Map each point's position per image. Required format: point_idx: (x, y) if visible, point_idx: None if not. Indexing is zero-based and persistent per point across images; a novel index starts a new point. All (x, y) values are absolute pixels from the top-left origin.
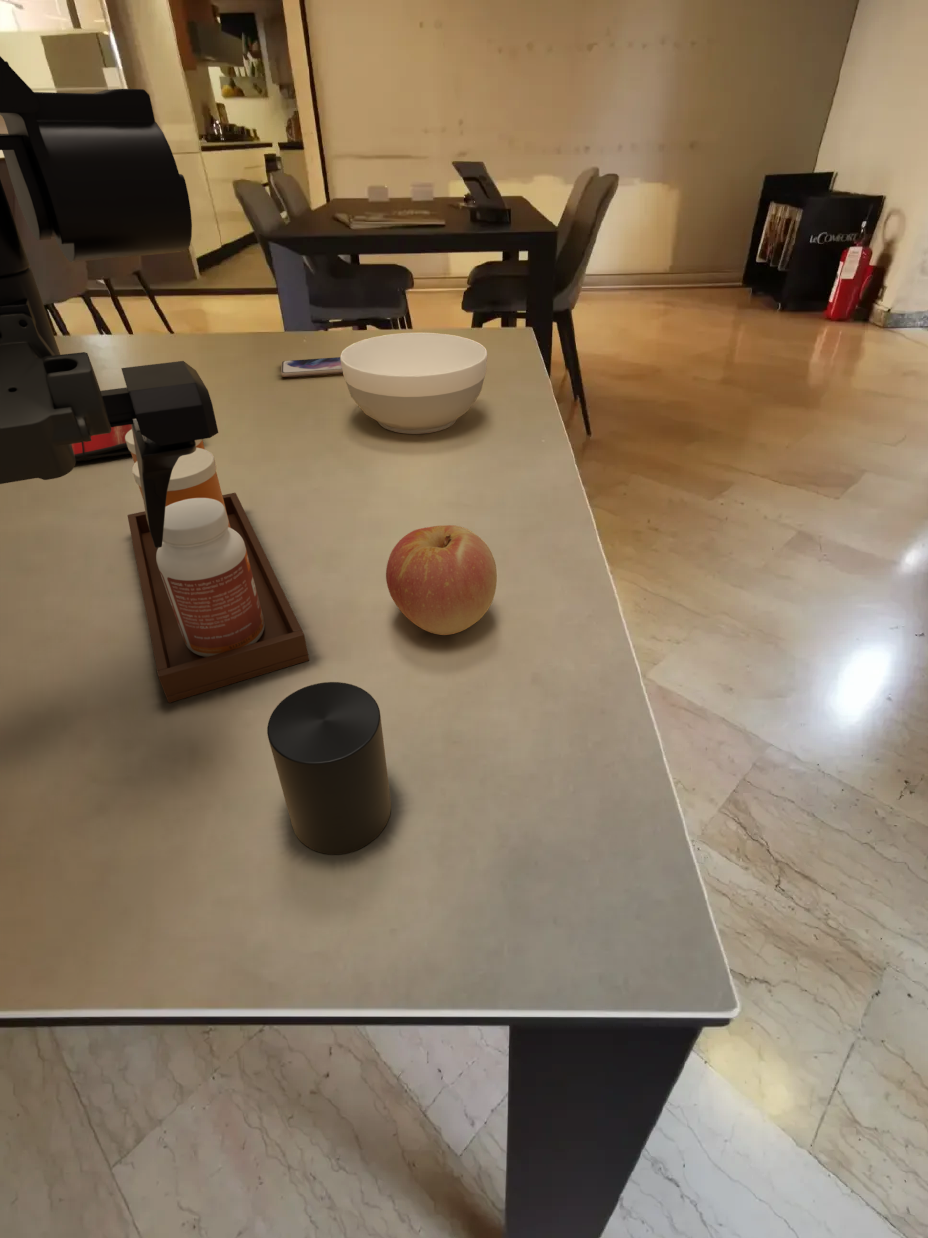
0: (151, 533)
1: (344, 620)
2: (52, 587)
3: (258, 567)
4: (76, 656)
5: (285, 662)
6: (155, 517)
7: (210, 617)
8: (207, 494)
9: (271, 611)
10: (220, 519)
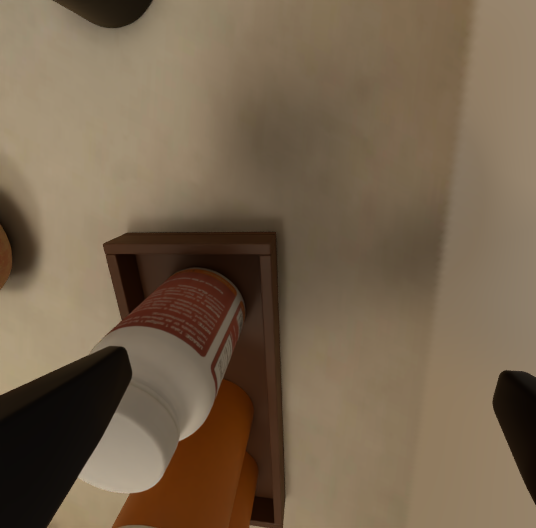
0: (87, 368)
1: (88, 279)
2: (372, 463)
3: None
4: (361, 349)
5: (146, 234)
6: (22, 396)
7: (185, 294)
8: (130, 503)
9: None
10: None
